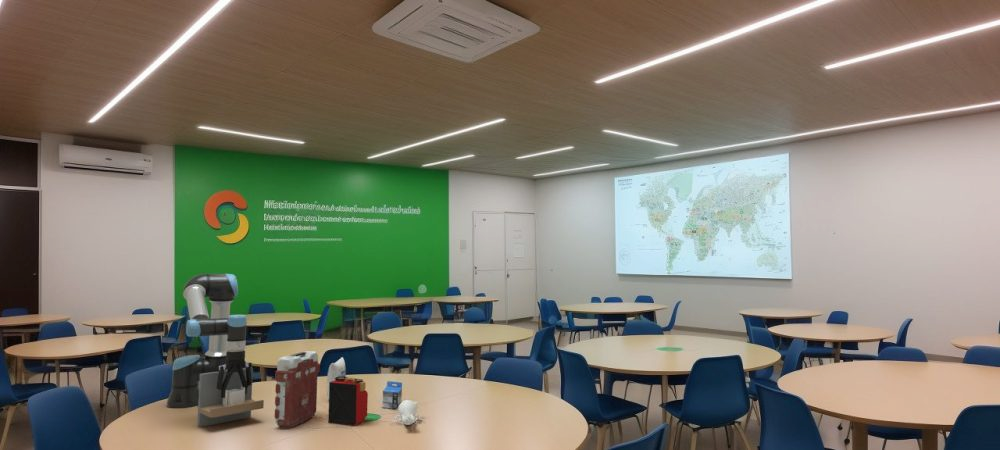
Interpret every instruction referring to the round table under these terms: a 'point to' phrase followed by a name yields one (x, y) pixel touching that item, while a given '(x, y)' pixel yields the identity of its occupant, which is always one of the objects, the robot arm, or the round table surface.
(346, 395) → the radio
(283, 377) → the first aid kit
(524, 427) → the round table surface
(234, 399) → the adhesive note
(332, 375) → the pouch
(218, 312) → the robot arm
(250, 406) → the board
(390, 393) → the label tape cartridge
